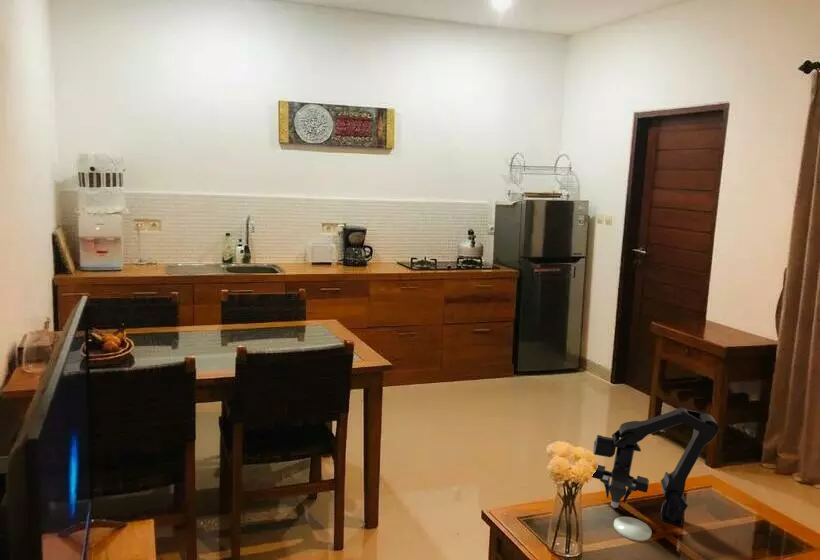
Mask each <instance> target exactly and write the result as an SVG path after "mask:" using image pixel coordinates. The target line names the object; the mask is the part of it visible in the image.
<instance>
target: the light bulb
mask: <svg viewBox="0 0 820 560" xmlns="http://www.w3.org/2000/svg"><path fill="white" fill-rule="evenodd" d="M626 490H627V487H626V488H625V489H624V490H623V489H620V488H617V487H612V486H611V483H610V487H609V495H610V498H611V502H610V506H611V507H612V508H613V509H616V508H619V505H620V501H621V500H622V499H623V498H624V496H625V493H626Z"/></svg>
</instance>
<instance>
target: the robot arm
mask: <svg viewBox="0 0 820 560" xmlns="http://www.w3.org/2000/svg"><path fill="white" fill-rule="evenodd" d="M717 423H718V422H717V421H716V419H714V417H713V416H712V414H709V413H701V412H699V411H696V410H690V409H687V408H685V407H678V408H676V409H674V410H672V411H669V412H666V413H663V414H659V415H657V416H654V417H651V418H648V419H646V420H640V421H639V420H633V421H632V420H631V421H625V422H623V423H621V424H620V426H619V428H618V429H617V430H616V431H615V432H614V433H613V434H611V437H608V436H603V435H600V434H597V435H596V438H595V440H594V441H593V442H594V443H593V450H592V452H593V455H594V456H601V457H605V458H613V457H614V460H613V467H612V470H611V471H609V470H606V466H604V465H601V464H598V468H597V470H596V472H595V473H594V474H593V476H592V479H593V478H594V479H597V480H600V482H601V483H603V485H604V488H605V495H606V498H607V499H608V498H610V497H609V496H610V491H609V487H610V484H611V486H612V487H617V488H620V489H623V490H624V489H625V488H626V493H625V495H624V496H623V501H622V503H623V504H624V503H625V502H626V500H628V498H629V496H630V495H631V494H632V493H634V492H637V491H639V492H643V493H648V489H649V483H650V480H649V478H648V477H644V476H640V475H637V476H636V477H634V476H632V475H631V470H632V465H633V460H634V454H635V452H638V453H639V452H641V451H642V449H641V446H640V445H639V444H638V443H639V442H640V441H643V440H644V439H645V438H646V437H647V436H649V435H652V434H654V433H657V432H661V431H663V430H665V429H666V430H667V429H669V428H671V427H672V428H673V427H675V426H678V425H681V424H684V425H686V426H688V427H689V428H691V429H693V431H692V436H691V438H690V440H689V442H688V444H687V446H686V448H685V450H684V451H683V453H682V455H681V456H680V459H679V461H678V462H677V465H675V468H674V470H673V471H671V472H670V473H669V472H668V471H665V472H664V476H663V477H662V479H660V483H661V485H660V486H661V489H662V493H663V495H664V496H663V497H664V498H665V499H664V500H665V501H663V502H662V505H661V510H660V516H661V520H662V522H663V521H664V522H667V523H670V524H674V525H677V526H683V518H684V514H685V510H687V508H688V506H689V505H688V503H687V501H686V498H685V496H684V492H685V487H686V483H687V482H686V481H687V479H688V477H689V475H690V473H691V471H692V470H693V468H694V466H695V464H696V462H697V460H698V459H699V456H700V455H701V453H702V451H703V450H704V448H705V446H706V445H707V444H709V443H710V442H713V440H714V438H715V437H716V436H717V435H718V433H719V430H720V428H719V426H718V424H717Z"/></svg>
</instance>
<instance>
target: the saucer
mask: <svg viewBox="0 0 820 560" xmlns="http://www.w3.org/2000/svg"><path fill="white" fill-rule="evenodd" d="M613 529H614V530H615V531H616V532H617V533H618V534H619V535H620V536H623V537H624V538H626V539H629V540H632V541H636V542H645V541H649V540H650V539H651V537H652V533H653V532H652V529H651V528H650V526H649V525H648V524H647V523H645V522H643V521H642V520H640V519H637V518H635V517H631V516H619V517H617V518H615V519H614V521H613Z"/></svg>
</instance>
